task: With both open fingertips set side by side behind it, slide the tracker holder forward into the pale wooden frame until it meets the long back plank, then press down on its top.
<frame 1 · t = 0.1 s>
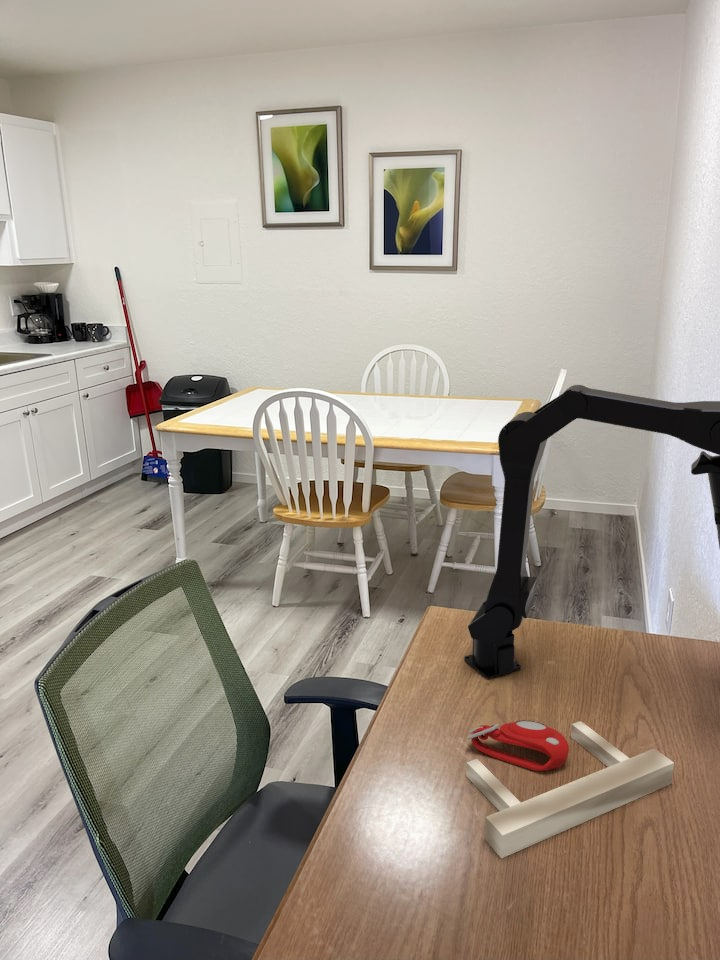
tracker holder: (517, 750, 96), on the table
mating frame: (548, 775, 90), on the table
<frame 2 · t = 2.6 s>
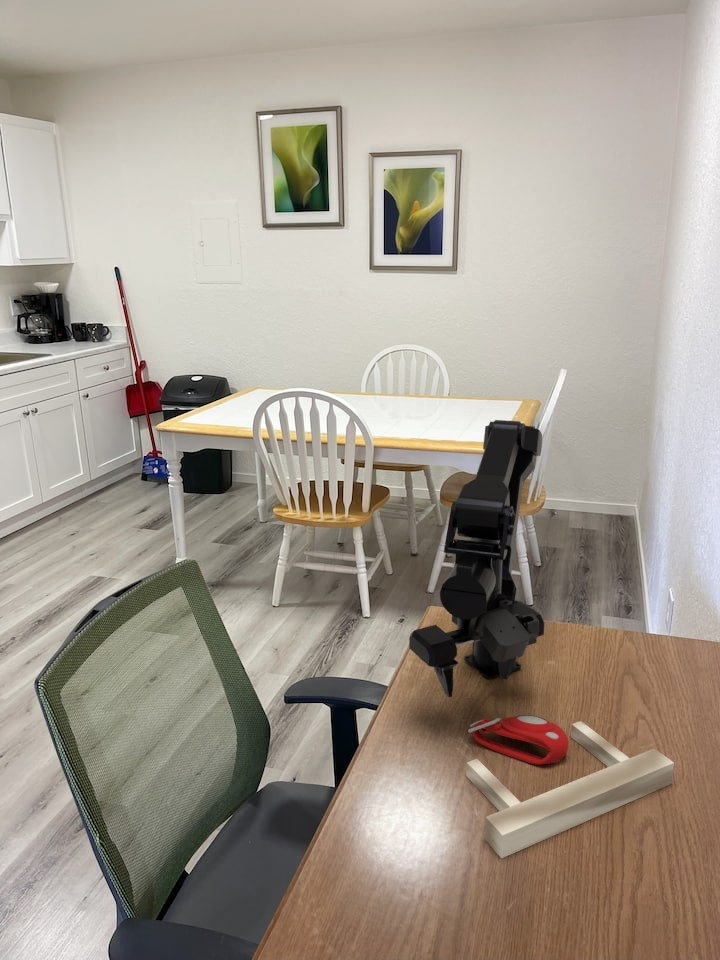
hand: (476, 687, 103), 3 cm above the table, tool pointing down, fingers open, 9 cm apart
tracker holder: (518, 743, 97), on the table
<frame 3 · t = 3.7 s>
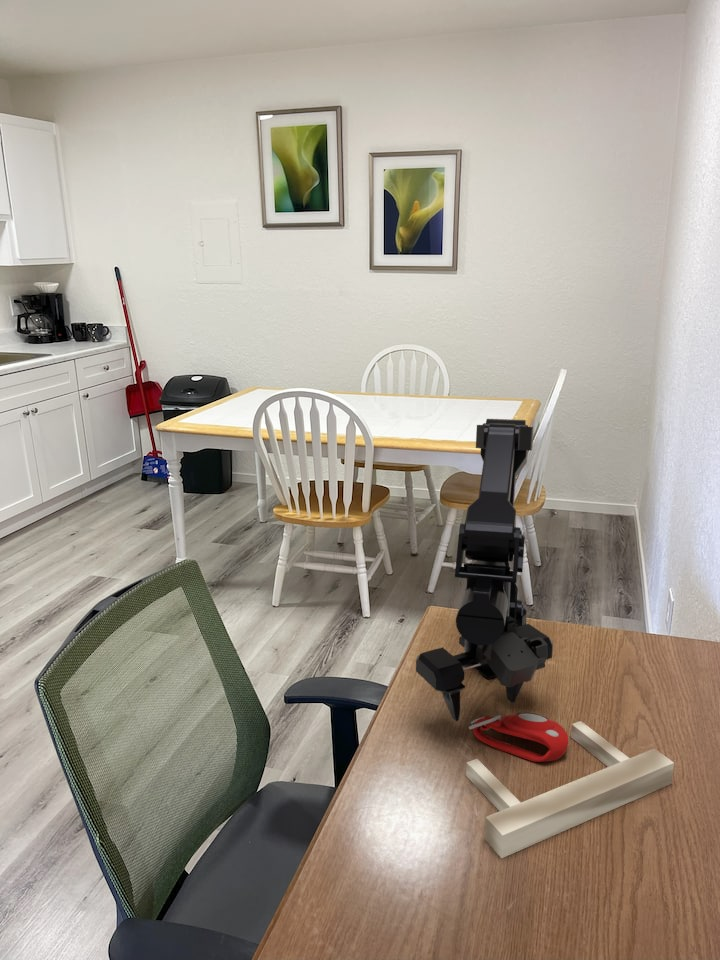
hand: (483, 710, 102), 1 cm above the table, tool pointing down, fingers open, 9 cm apart
nothing on the table moved.
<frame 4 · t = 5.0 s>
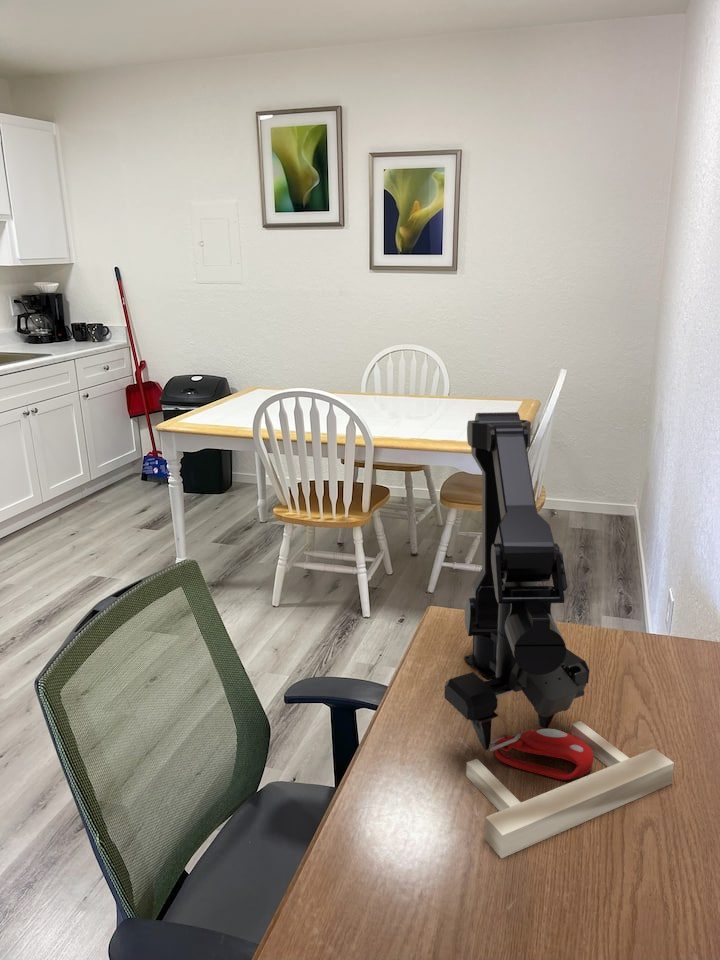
hand: (514, 737, 96), 1 cm above the table, tool pointing down, fingers open, 9 cm apart
tracker holder: (539, 758, 94), on the table, touching gripper
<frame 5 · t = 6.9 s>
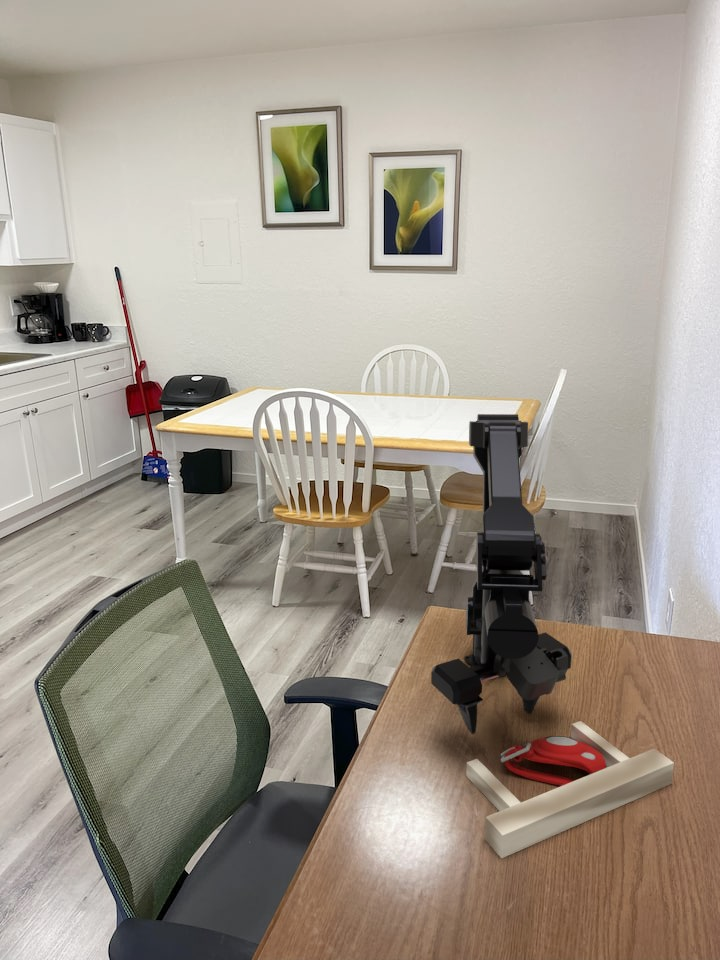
hand: (500, 722, 99), 1 cm above the table, tool pointing down, fingers open, 9 cm apart
tracker holder: (549, 767, 92), on the table
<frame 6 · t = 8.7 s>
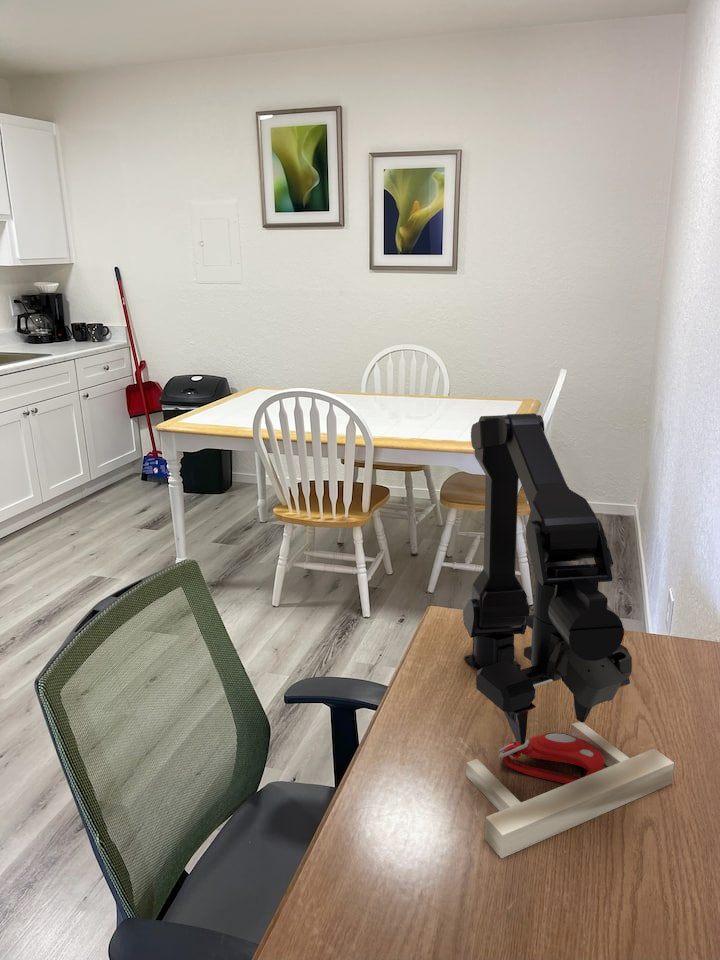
hand: (550, 731, 89), 6 cm above the table, tool pointing down, fingers open, 9 cm apart
nothing on the table moved.
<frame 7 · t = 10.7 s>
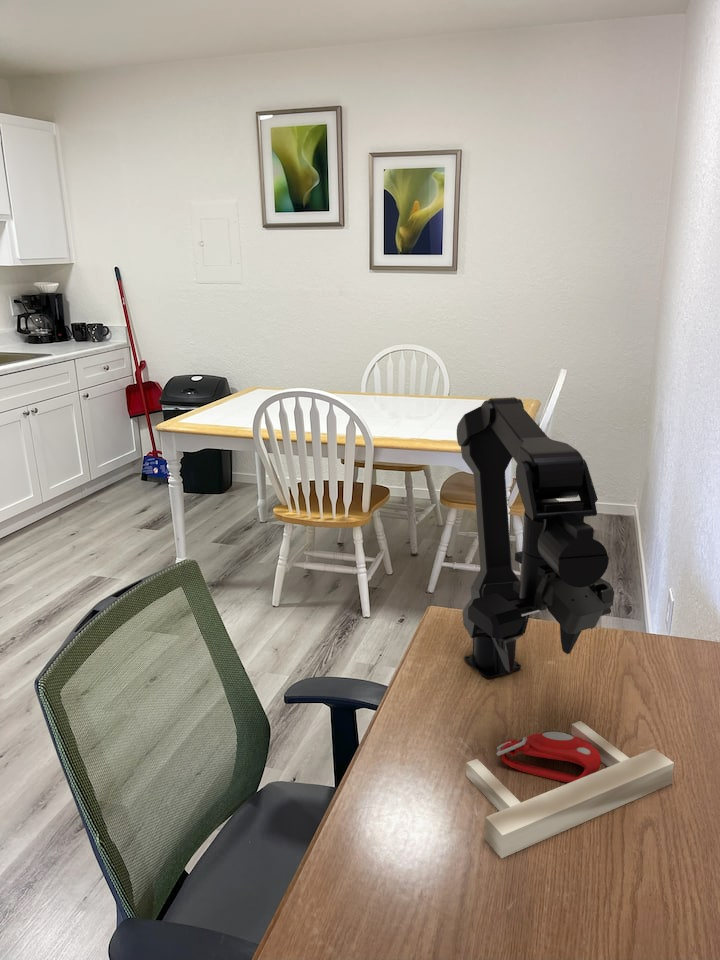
hand: (538, 661, 95), 11 cm above the table, tool pointing down, fingers open, 9 cm apart
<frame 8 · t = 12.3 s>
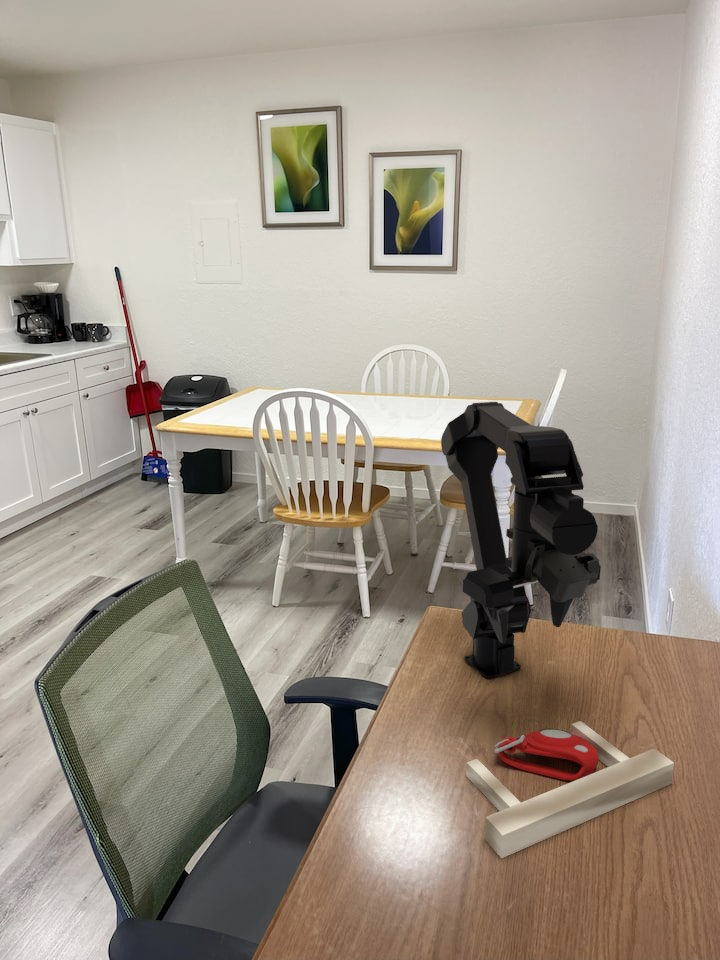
hand: (529, 633, 100), 12 cm above the table, tool pointing down, fingers open, 9 cm apart
at the end: tracker holder 2.5 cm from the target spot on the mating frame, point -0.5 cm above the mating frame's base; tracker holder tilted 0°; the gripper is holding nothing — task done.
